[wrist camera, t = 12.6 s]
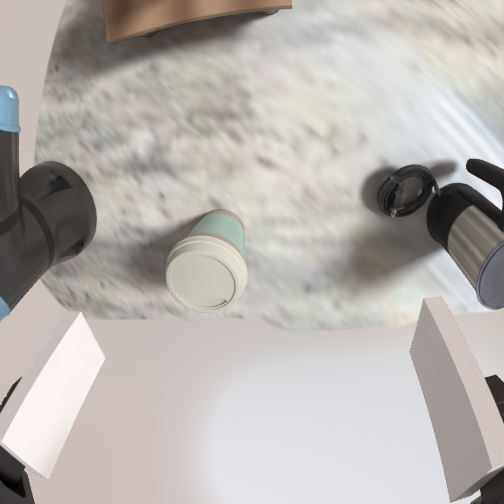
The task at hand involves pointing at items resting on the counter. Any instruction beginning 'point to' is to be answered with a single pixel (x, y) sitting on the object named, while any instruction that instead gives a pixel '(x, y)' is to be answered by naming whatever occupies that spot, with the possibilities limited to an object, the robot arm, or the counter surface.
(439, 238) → the milk frother
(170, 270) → the coffee cup
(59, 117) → the counter surface
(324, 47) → the counter surface
